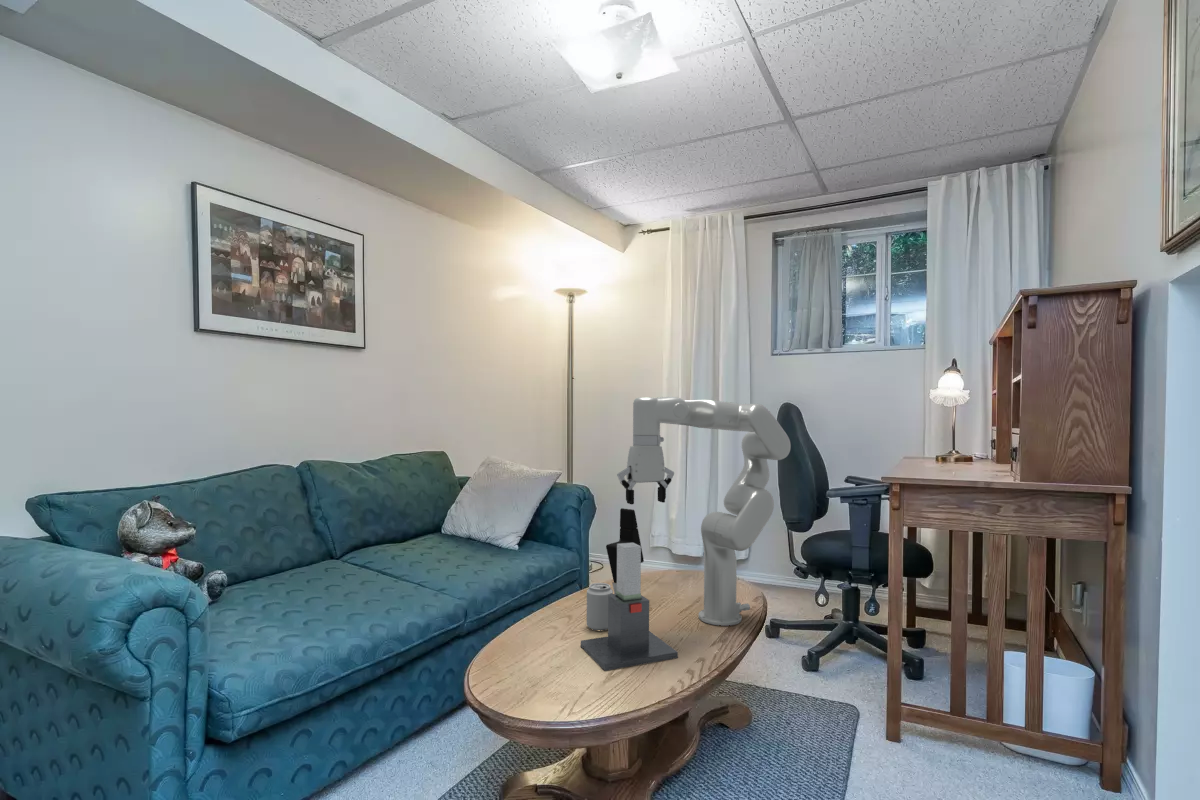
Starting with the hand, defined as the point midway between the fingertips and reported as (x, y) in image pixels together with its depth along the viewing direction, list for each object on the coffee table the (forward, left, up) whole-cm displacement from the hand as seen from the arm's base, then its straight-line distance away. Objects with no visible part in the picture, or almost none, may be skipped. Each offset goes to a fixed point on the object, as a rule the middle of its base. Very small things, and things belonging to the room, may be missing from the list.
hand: (645, 502), depth 170 cm
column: (+10, +10, -28) cm, 32 cm away
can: (+10, -9, -36) cm, 39 cm away
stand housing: (+10, +10, -36) cm, 39 cm away
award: (-6, -26, -36) cm, 45 cm away
